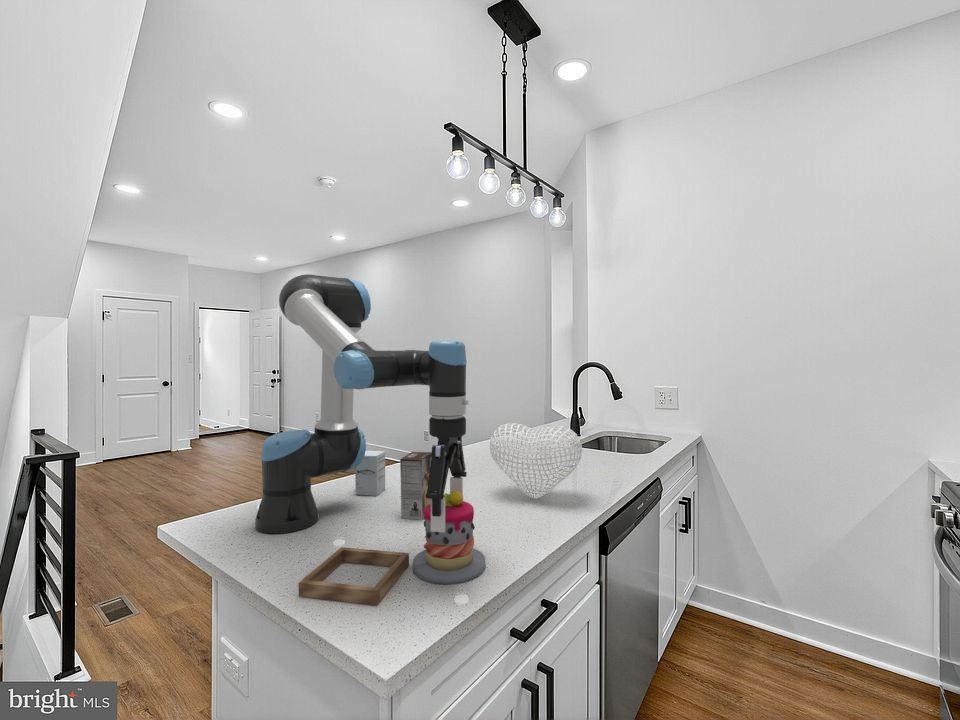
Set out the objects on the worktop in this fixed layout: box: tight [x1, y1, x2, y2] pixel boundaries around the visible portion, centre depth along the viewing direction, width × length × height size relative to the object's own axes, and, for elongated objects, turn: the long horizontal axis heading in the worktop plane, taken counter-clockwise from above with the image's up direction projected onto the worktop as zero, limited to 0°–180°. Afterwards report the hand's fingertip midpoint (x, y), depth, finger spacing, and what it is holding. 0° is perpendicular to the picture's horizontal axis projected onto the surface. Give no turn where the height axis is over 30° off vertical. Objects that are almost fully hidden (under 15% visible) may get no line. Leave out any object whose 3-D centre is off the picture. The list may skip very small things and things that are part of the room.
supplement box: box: [354, 450, 386, 497], centre depth 145 cm, size 7×7×13 cm
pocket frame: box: [297, 546, 410, 606], centre depth 90 cm, size 15×15×2 cm
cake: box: [423, 491, 476, 571], centre depth 95 cm, size 10×11×15 cm
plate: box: [412, 547, 486, 585], centre depth 95 cm, size 15×15×1 cm
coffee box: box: [399, 451, 432, 521], centre depth 126 cm, size 9×6×16 cm
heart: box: [489, 422, 583, 499], centre depth 138 cm, size 28×16×22 cm, turn 65°
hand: (447, 518), depth 95 cm, fingers open, 13 cm apart
